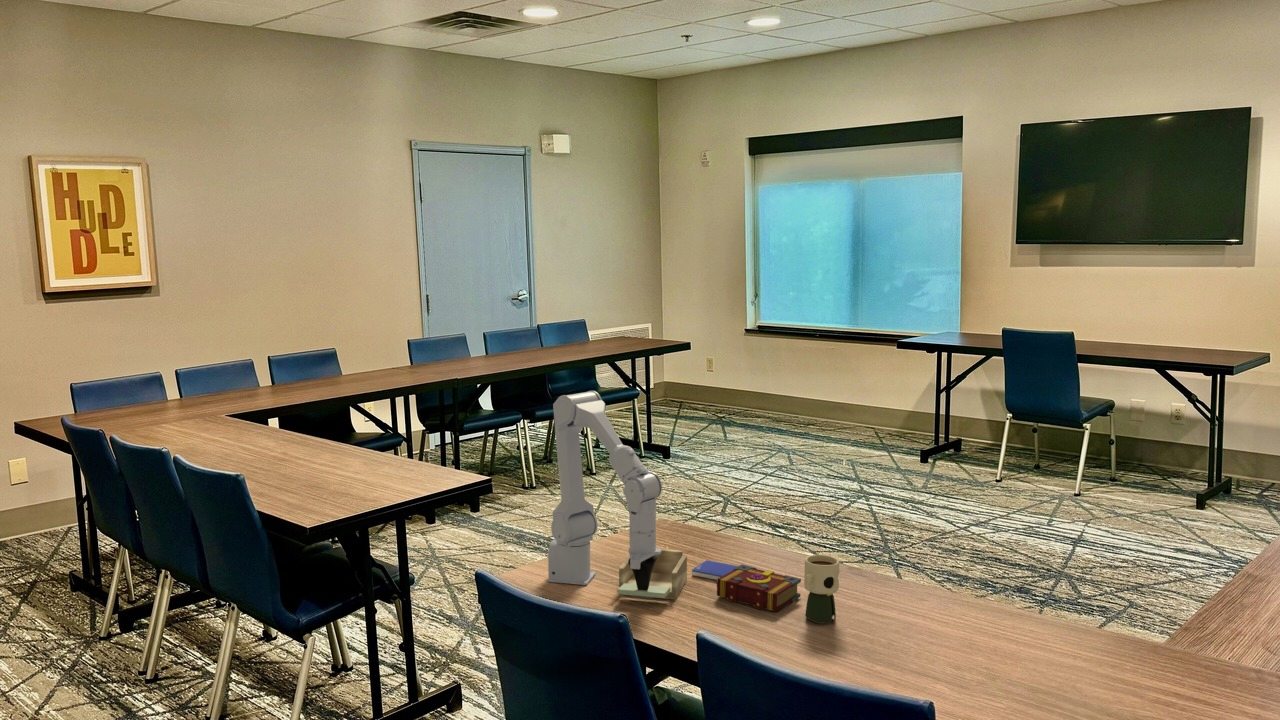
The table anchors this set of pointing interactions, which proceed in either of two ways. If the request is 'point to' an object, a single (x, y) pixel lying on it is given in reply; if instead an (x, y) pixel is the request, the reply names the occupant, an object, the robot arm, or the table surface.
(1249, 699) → the table surface
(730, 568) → the hard drive
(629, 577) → the crate
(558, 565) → the robot arm
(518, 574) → the table surface
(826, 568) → the character mug
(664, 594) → the panel
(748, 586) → the decorative book
